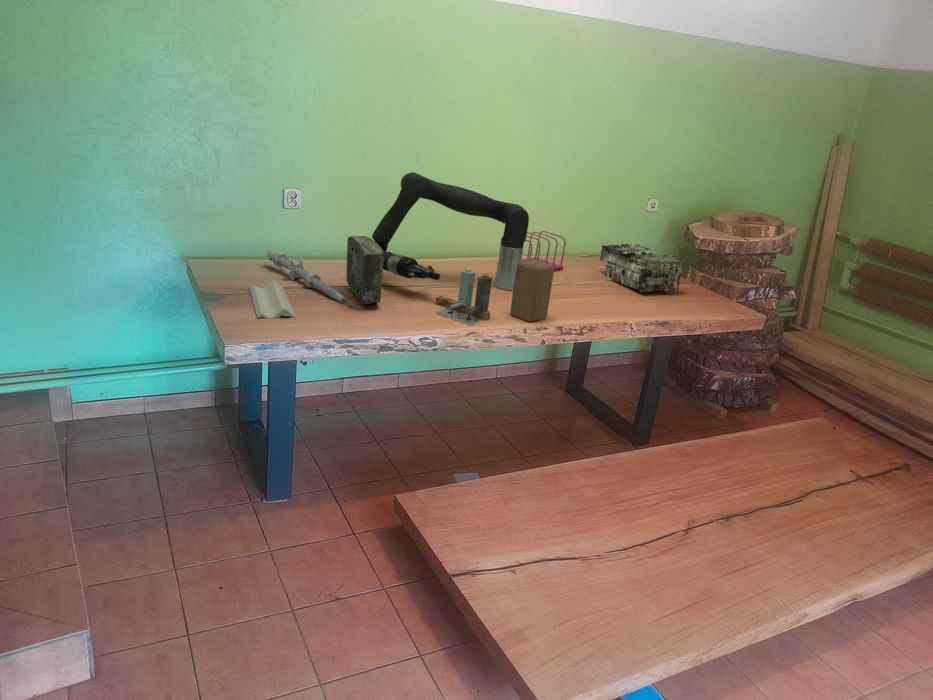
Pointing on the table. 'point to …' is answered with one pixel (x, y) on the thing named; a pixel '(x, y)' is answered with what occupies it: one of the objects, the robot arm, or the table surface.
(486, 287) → the dark grey l-shaped piece
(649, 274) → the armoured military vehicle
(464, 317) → the grey flat plate
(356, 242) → the concrete block
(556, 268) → the file sorter
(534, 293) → the block
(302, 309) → the table surface
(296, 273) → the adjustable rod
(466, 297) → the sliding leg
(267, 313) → the crown molding
